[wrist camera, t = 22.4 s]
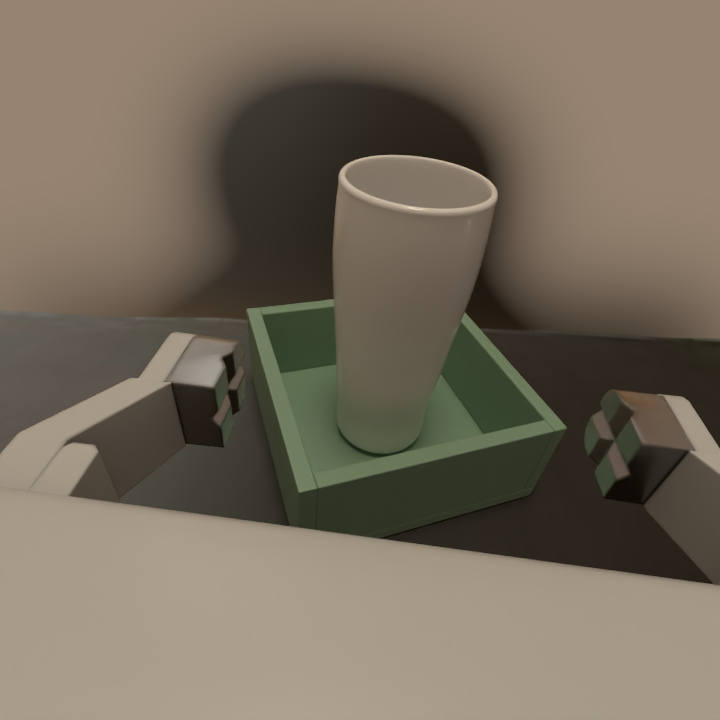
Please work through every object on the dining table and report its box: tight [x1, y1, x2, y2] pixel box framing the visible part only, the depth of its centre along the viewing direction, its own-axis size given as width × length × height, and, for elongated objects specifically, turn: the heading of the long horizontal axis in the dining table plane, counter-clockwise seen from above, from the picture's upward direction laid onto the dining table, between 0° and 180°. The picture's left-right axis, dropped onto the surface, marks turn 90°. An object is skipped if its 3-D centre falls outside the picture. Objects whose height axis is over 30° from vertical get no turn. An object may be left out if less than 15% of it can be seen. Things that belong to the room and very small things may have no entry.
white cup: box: [333, 155, 498, 454], centre depth 24 cm, size 7×7×15 cm
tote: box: [247, 300, 567, 539], centre depth 27 cm, size 14×14×6 cm
